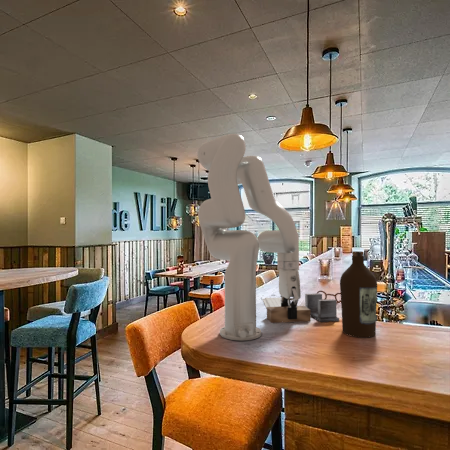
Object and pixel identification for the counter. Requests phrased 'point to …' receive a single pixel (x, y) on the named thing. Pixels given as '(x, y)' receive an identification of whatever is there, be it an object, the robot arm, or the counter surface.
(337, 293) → the glasses
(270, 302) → the baseboard molding
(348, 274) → the olive oil
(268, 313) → the shelf board
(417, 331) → the counter surface
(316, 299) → the grey flat-based fixture
